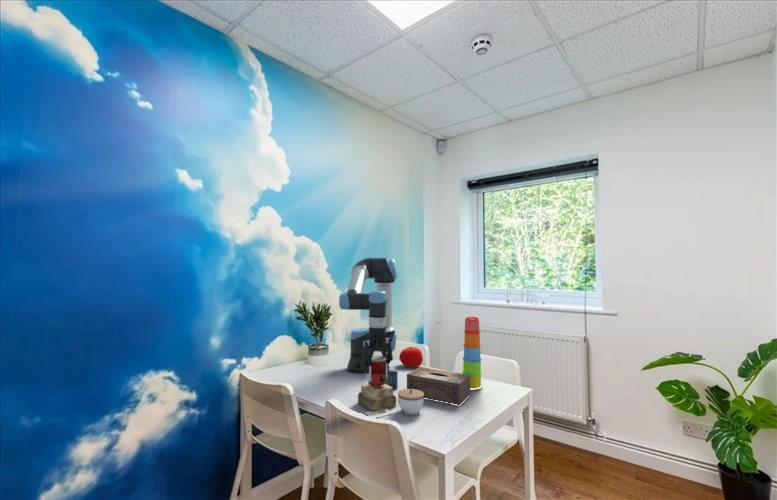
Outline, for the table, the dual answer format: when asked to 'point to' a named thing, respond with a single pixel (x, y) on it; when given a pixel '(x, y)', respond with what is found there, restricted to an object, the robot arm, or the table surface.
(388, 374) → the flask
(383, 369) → the canned food
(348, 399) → the table surface
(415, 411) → the lidded jar
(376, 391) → the folded towel stack
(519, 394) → the table surface
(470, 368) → the stacking cups
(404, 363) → the tomato
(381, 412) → the page
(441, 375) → the tissue box cover
